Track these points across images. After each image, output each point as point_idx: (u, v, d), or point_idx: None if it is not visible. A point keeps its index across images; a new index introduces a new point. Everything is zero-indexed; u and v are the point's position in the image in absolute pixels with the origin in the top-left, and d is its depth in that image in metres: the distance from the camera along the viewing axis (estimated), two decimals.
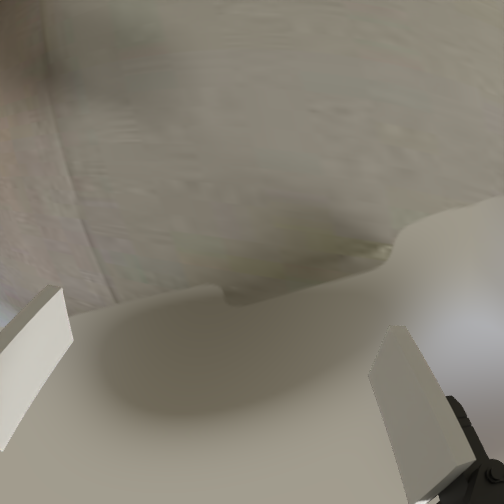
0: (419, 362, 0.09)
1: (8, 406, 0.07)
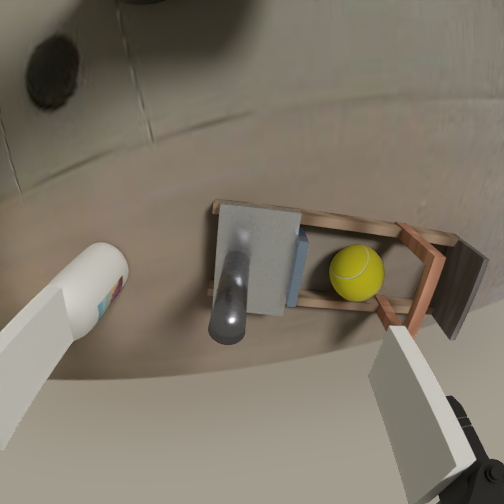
0: (419, 362, 0.09)
1: (8, 406, 0.07)
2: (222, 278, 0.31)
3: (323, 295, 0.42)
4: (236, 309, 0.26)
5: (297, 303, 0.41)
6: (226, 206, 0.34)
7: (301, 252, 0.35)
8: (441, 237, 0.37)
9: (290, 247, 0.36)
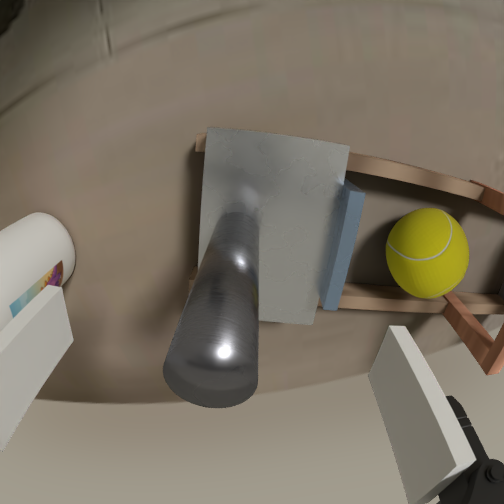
0: (419, 362, 0.09)
1: (8, 406, 0.07)
2: (207, 255, 0.15)
3: (371, 290, 0.26)
4: (235, 324, 0.10)
5: None
6: (218, 131, 0.19)
7: (352, 212, 0.19)
8: None
9: (330, 206, 0.20)
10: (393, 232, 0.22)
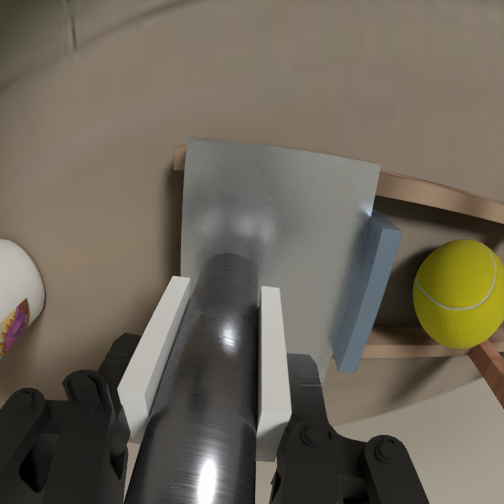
0: (273, 317, 0.11)
1: None
2: (182, 334, 0.10)
3: (392, 334, 0.21)
4: (217, 497, 0.05)
5: None
6: (202, 143, 0.13)
7: (384, 256, 0.14)
8: None
9: (352, 244, 0.15)
10: (424, 271, 0.17)
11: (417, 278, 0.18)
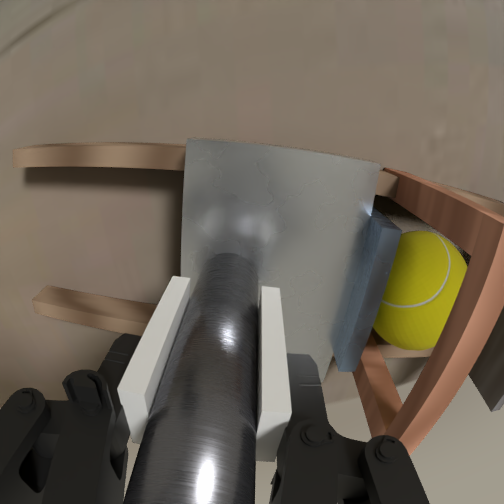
0: (273, 317, 0.11)
1: None
2: (182, 333, 0.10)
3: None
4: (217, 495, 0.05)
5: None
6: (202, 143, 0.14)
7: (384, 255, 0.14)
8: (483, 200, 0.16)
9: (352, 244, 0.15)
10: None
11: None
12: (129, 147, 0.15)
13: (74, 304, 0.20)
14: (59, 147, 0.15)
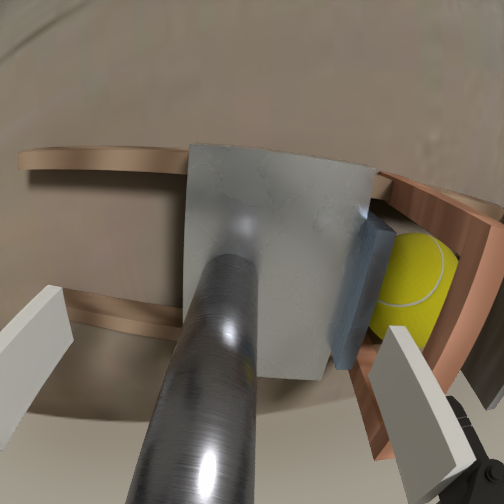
0: (419, 362, 0.09)
1: (8, 406, 0.07)
2: (185, 329, 0.11)
3: None
4: (219, 478, 0.05)
5: (177, 337, 0.21)
6: (204, 148, 0.14)
7: (379, 256, 0.14)
8: (476, 203, 0.16)
9: (349, 245, 0.16)
10: None
11: None
12: (132, 151, 0.16)
13: (77, 303, 0.21)
14: (63, 150, 0.16)
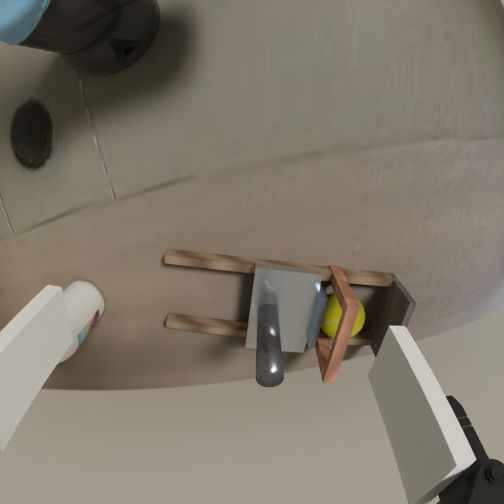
0: (419, 362, 0.09)
1: (8, 406, 0.07)
2: (260, 332, 0.38)
3: None
4: (277, 361, 0.33)
5: (241, 335, 0.48)
6: (261, 269, 0.42)
7: (321, 306, 0.42)
8: (374, 278, 0.44)
9: (312, 300, 0.43)
10: None
11: None
12: (228, 263, 0.43)
13: (190, 322, 0.48)
14: (193, 258, 0.43)
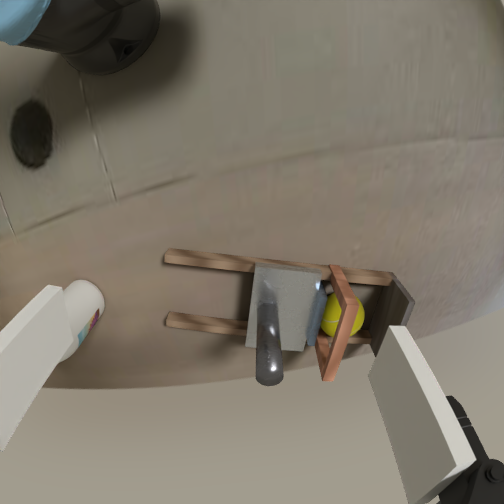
0: (419, 362, 0.09)
1: (8, 406, 0.07)
2: (260, 331, 0.38)
3: None
4: (276, 360, 0.33)
5: (241, 333, 0.48)
6: (260, 268, 0.42)
7: (321, 305, 0.42)
8: (374, 277, 0.44)
9: (311, 299, 0.43)
10: None
11: None
12: (228, 262, 0.44)
13: (190, 321, 0.48)
14: (193, 258, 0.44)
